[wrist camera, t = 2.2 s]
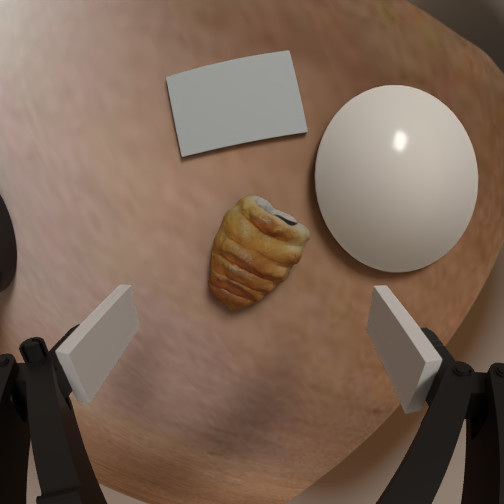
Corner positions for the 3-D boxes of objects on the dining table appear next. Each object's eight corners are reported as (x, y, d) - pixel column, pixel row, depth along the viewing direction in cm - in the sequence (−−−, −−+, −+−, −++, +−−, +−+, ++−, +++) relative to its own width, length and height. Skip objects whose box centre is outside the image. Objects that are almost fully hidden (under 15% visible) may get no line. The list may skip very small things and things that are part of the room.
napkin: (183, 156, 23) (181, 156, 23) (167, 78, 21) (166, 77, 20) (306, 132, 22) (307, 131, 22) (288, 51, 20) (289, 50, 20)
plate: (310, 269, 26) (312, 274, 25) (311, 78, 21) (313, 74, 19) (459, 265, 25) (466, 269, 24) (470, 105, 20) (478, 104, 19)
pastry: (259, 312, 27) (257, 335, 24) (192, 279, 27) (182, 298, 23) (313, 224, 25) (321, 237, 21) (241, 185, 24) (236, 191, 20)
